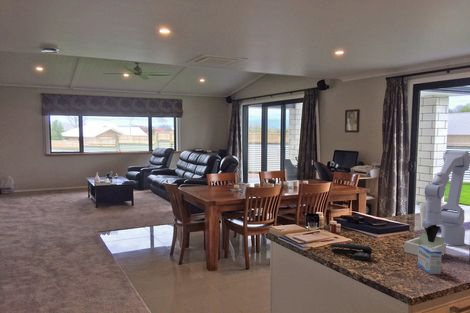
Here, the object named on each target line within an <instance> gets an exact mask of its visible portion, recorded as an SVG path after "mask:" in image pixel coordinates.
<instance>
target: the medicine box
mask: <svg viewBox="0 0 470 313" xmlns="http://www.w3.org/2000/svg"><path fill="white" fill-rule="evenodd" d="M442 257H443V256H442V252H441V251H439V250H437V249H435V248H433V247H431V246H429V245H422V244H421V245H419V251H418V256H417V268H419V269H421V270H422V271H424V272H426V273H427V274H428V275H441V270H442Z"/></svg>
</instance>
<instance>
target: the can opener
mask: <svg viewBox="0 0 470 313" xmlns="http://www.w3.org/2000/svg"><path fill="white" fill-rule="evenodd" d="M330 247H332V248H331V250H330V252H332V253H335V254H342V255H343V254H345V255H348V254H349V255H352V258H353V259H355V260H357V261H359V260H360V261H369V260H370V259H371V258H372V253H373V249H372V248H371V246H367V245H361V244H358V243H355V244H353V243H338V242H337V243H330Z"/></svg>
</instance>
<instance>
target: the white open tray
mask: <svg viewBox="0 0 470 313" xmlns="http://www.w3.org/2000/svg"><path fill="white" fill-rule="evenodd" d="M420 239H421V237H416V238H412V239H410V240H406V241H404V253H406V254H407V253H408V254H410V255H414V256H417V257H418V251H419V245H422V244H419V243H420ZM433 248H435V249H437V250H439V251H441V252H442V255H443V256H444V254H445V255H447V254H446V253H447V245H446V244H441V245H438V246H436V247H433Z"/></svg>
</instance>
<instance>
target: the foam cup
mask: <svg viewBox="0 0 470 313" xmlns="http://www.w3.org/2000/svg"><path fill="white" fill-rule="evenodd" d="M426 203H427V202H423V203H421V202H420V203H419V206H418V208H419V214H420V226H421V228H422V229H424V230H425V228H424V227H422V223H423V222H424V221H423V220H424V219H425V217H426Z"/></svg>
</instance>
